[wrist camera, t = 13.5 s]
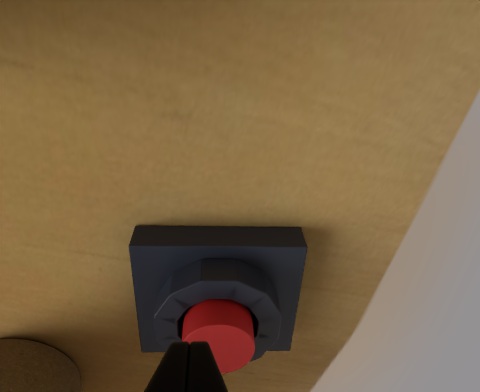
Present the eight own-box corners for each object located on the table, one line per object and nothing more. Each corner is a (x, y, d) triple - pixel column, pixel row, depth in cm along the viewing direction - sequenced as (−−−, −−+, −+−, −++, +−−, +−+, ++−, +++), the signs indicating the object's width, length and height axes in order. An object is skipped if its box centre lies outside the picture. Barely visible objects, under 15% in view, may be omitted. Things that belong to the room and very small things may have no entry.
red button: (184, 345, 21) (181, 374, 19) (182, 297, 19) (179, 325, 18) (250, 345, 21) (252, 373, 20) (254, 297, 19) (257, 324, 18)
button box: (146, 328, 25) (136, 378, 22) (135, 225, 21) (120, 268, 18) (285, 327, 25) (295, 376, 22) (301, 226, 21) (315, 269, 18)
